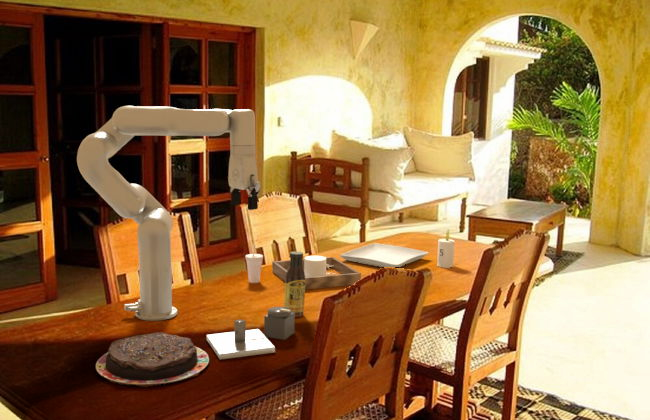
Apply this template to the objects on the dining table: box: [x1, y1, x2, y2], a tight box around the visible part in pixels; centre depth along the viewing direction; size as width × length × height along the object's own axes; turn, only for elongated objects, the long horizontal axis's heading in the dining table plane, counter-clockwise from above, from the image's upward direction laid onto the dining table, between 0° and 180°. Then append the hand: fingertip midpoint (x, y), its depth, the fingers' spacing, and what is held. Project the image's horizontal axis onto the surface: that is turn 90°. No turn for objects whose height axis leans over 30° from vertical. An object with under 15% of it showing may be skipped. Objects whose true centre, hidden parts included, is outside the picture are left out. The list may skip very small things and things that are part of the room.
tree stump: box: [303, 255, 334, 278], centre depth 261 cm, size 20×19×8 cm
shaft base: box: [206, 319, 276, 360], centre depth 192 cm, size 15×15×7 cm
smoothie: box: [244, 243, 264, 284], centre depth 254 cm, size 6×6×14 cm
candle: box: [436, 229, 455, 269], centre depth 282 cm, size 6×6×15 cm
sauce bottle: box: [283, 251, 306, 318], centre depth 217 cm, size 7×6×20 cm
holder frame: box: [271, 256, 362, 290], centre depth 262 cm, size 25×26×4 cm
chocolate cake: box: [95, 331, 210, 388], centre depth 178 cm, size 28×28×7 cm
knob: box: [263, 306, 296, 341], centre depth 201 cm, size 7×7×8 cm
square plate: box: [339, 242, 429, 268], centre depth 290 cm, size 27×27×4 cm
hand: (244, 207), depth 214 cm, fingers open, 9 cm apart
